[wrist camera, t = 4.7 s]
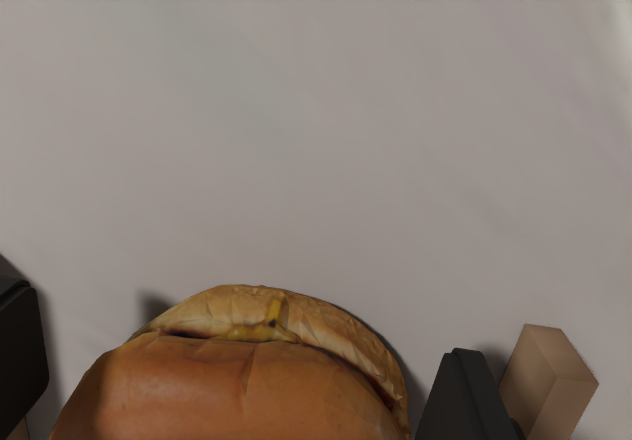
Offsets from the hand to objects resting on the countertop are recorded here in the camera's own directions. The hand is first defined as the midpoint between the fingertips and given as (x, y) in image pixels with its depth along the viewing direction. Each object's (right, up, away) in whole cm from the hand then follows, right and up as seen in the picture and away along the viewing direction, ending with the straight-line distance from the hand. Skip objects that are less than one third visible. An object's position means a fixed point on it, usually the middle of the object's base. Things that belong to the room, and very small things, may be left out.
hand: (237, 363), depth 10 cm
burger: (0, -3, +4) cm, 5 cm away
